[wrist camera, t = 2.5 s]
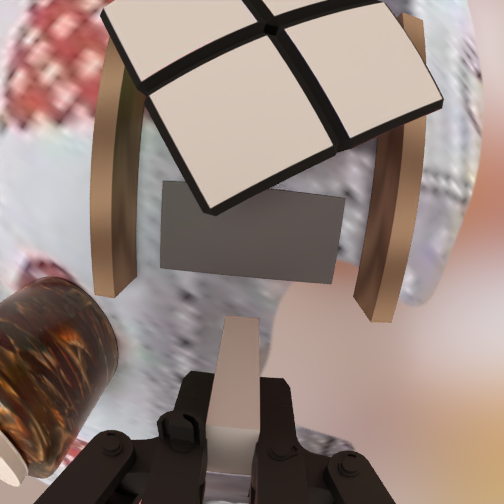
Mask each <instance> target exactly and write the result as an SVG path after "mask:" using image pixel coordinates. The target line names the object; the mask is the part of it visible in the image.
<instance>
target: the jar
mask: <svg viewBox="0 0 504 504" xmlns="http://www.w3.org/2000/svg"><path fill="white" fill-rule="evenodd" d="M117 362H118V349H117V343H116V339H115V336H114V333H113V330H112V328H111V326H110V324H109V322H108V320H107V318H106V317H105V315H104V313H103V312H102V310H101V309H100V308H99V306H98V305H97V304H96V303H95V302H94V301H93V299H92V298H91V297H90V296H89V295H87V294H86V293H85V292H84V291H83V290H82V289H80V288H79V287H77V286H76V285H74V284H72V283H71V282H69V281H66V280H64V279H61V278H56V277H44V278H41V279H38V280H36V281H34V282H32V283H30V284H29V285H27V286H25V287H24V288H22V289H21V290H19V291H17V292H16V293H14V294H13V295H11V296H10V297H8V298H7V299H5V300H4V301H2V302H1V303H0V480H2V481H4V482H5V483H7V484H9V485H12V486H15V487H19V486H20V485H21V483H22V481H23V480H24V478H25V476H26V475H29V476H32V477H36V478H48V477H49V476H51V475H52V474H53V473H54V472H55V471H56V470H57V468H58V467H59V465H60V464H61V462H62V460H63V459H64V457H65V456H66V454H67V452H68V451H69V449H70V447H71V445H72V444H73V442H74V440H75V439H76V437H77V435H78V434H79V432H80V430H81V428H82V427H83V425H84V423H85V422H86V420H87V418H88V417H89V415H90V413H91V411H92V410H93V408H94V406H95V405H96V403H97V401H98V400H99V398H100V396H101V395H102V393H103V391H104V390H105V388H106V386H107V385H108V383H109V381H110V379H111V378H112V376H113V374H114V372H115V370H116V366H117Z"/></svg>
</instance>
